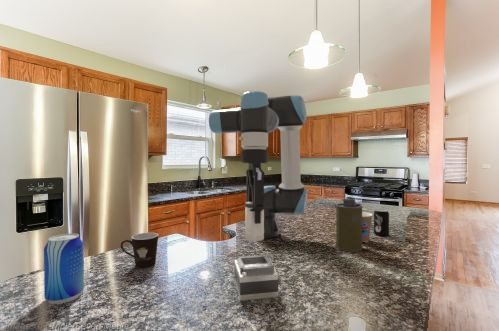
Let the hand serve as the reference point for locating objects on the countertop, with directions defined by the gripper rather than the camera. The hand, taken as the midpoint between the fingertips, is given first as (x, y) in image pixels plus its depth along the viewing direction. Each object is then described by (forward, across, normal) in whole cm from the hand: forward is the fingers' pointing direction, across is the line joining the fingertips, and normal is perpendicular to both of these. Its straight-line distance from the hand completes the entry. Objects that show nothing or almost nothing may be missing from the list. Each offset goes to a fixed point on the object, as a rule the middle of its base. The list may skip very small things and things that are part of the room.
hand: (254, 231), depth 75 cm
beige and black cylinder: (+2, 0, 0) cm, 2 cm away
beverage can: (+16, -41, +70) cm, 83 cm away
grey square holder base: (+16, 0, 0) cm, 16 cm away
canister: (+16, -27, +45) cm, 55 cm away
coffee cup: (+16, -35, +55) cm, 67 cm away
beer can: (+16, -4, -50) cm, 53 cm away
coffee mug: (+16, -24, -35) cm, 45 cm away
